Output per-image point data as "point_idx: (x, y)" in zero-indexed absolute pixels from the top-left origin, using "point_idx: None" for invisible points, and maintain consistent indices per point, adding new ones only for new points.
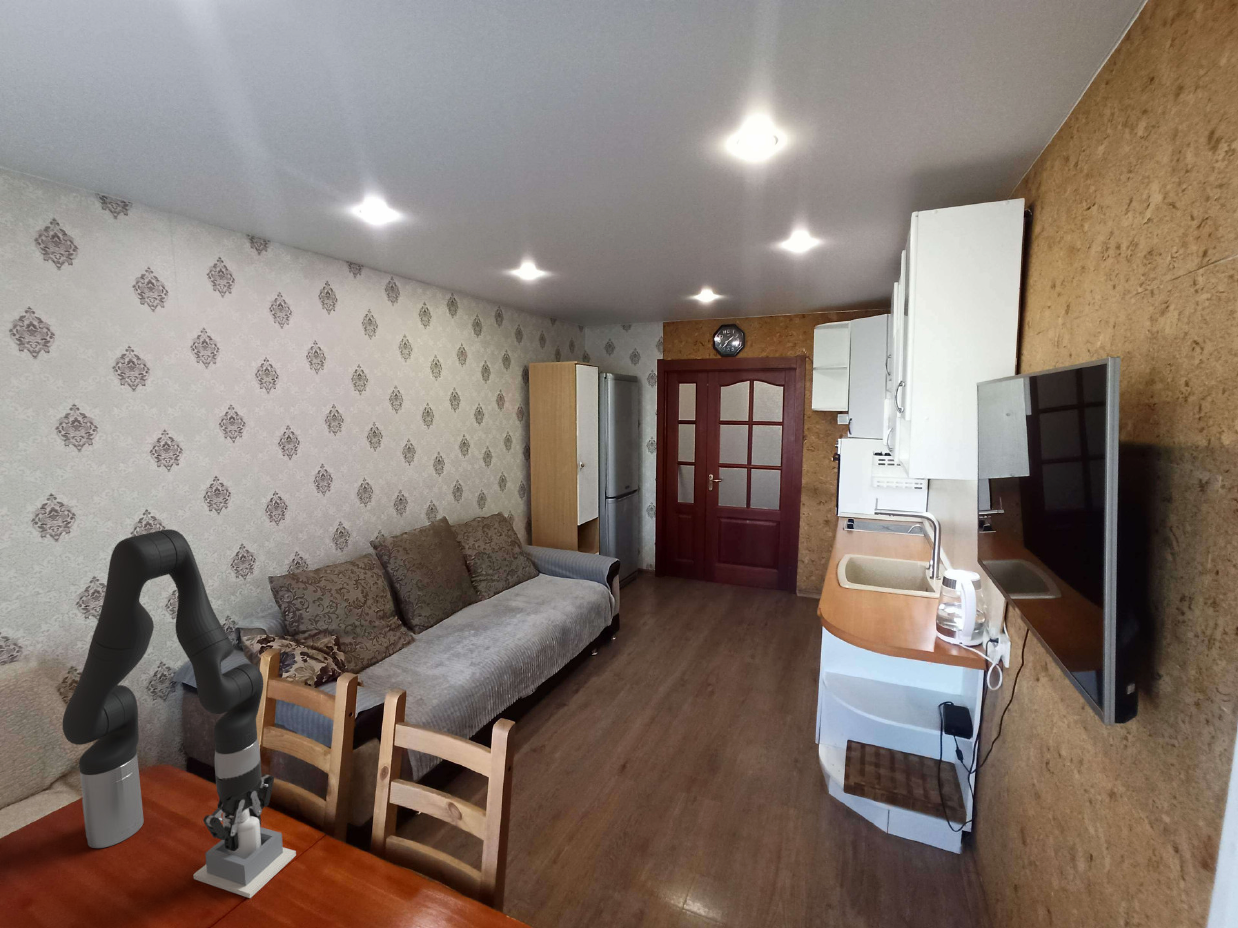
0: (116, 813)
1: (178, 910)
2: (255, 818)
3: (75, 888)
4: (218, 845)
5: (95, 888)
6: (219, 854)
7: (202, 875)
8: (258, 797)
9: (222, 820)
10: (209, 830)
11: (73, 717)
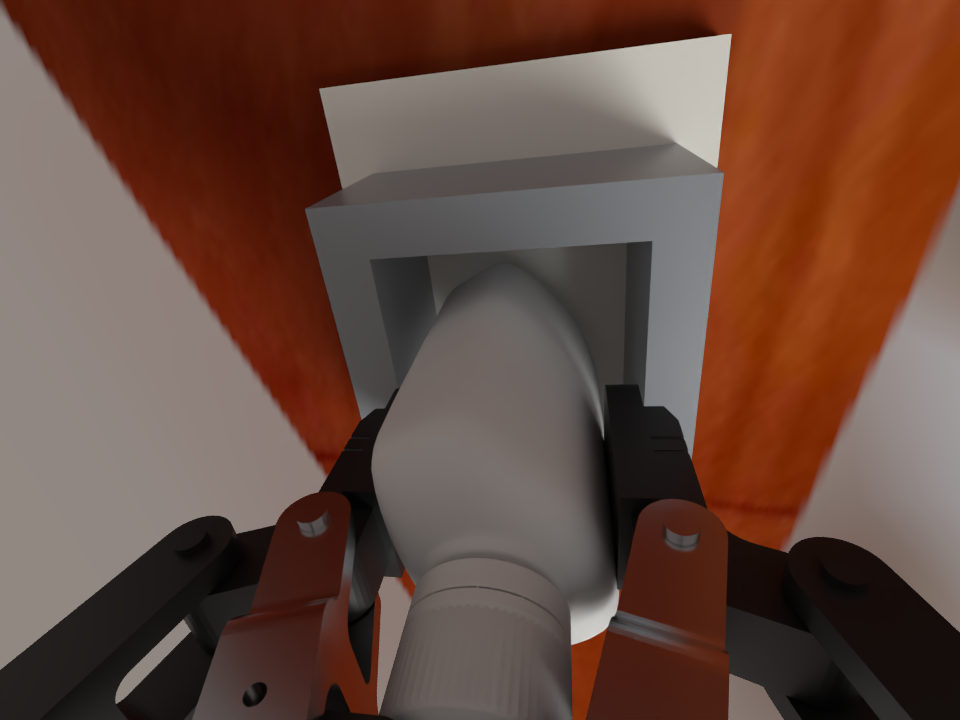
0: None
1: (209, 245)
2: (584, 635)
3: None
4: (407, 234)
5: None
6: (361, 337)
7: (349, 162)
8: (858, 680)
9: (232, 624)
10: (38, 649)
11: None
